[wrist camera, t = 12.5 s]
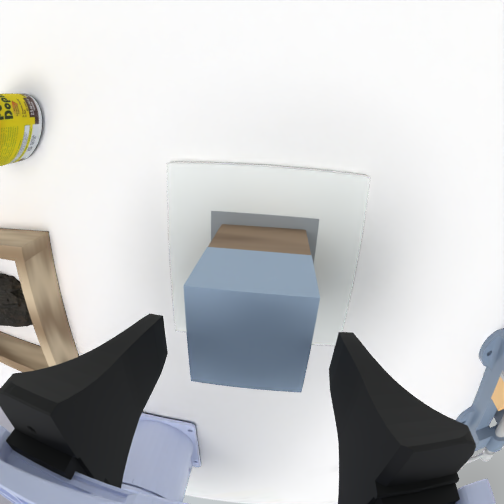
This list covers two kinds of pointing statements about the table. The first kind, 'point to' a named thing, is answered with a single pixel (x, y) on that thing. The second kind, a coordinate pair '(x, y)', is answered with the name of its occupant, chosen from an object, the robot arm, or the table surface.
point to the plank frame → (36, 303)
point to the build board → (270, 223)
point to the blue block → (251, 318)
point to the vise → (488, 400)
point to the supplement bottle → (18, 127)
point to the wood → (13, 303)
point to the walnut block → (261, 239)
